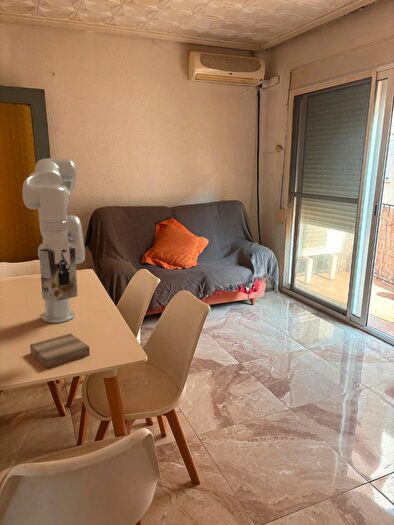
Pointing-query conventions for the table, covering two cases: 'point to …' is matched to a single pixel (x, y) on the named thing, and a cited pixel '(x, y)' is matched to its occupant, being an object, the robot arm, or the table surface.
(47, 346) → the brownish grey square block
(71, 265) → the coffee box
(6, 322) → the table surface
